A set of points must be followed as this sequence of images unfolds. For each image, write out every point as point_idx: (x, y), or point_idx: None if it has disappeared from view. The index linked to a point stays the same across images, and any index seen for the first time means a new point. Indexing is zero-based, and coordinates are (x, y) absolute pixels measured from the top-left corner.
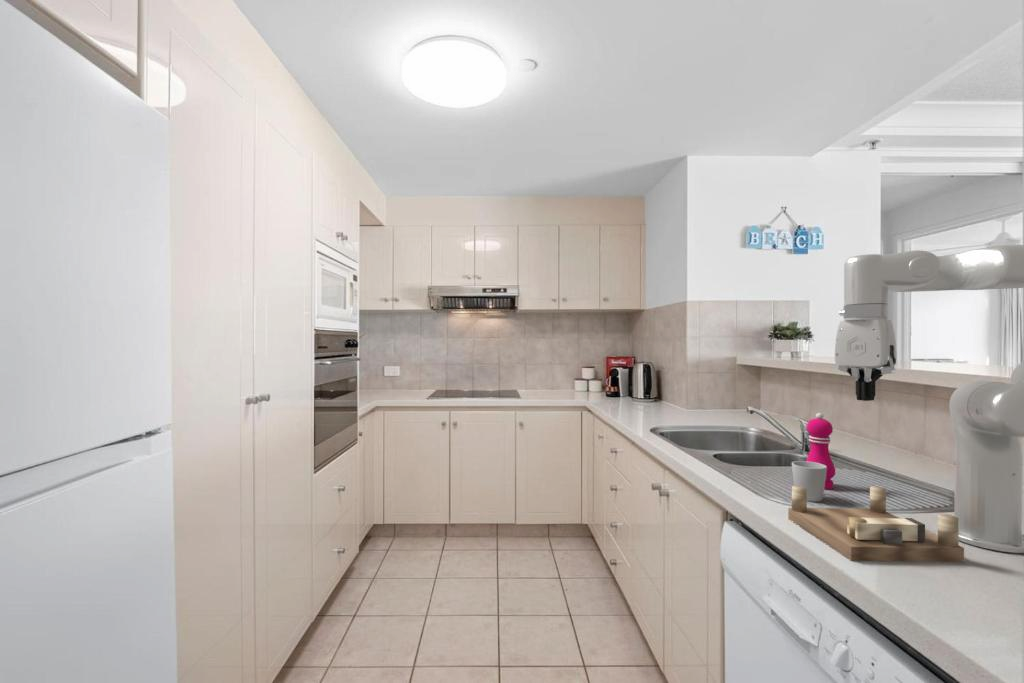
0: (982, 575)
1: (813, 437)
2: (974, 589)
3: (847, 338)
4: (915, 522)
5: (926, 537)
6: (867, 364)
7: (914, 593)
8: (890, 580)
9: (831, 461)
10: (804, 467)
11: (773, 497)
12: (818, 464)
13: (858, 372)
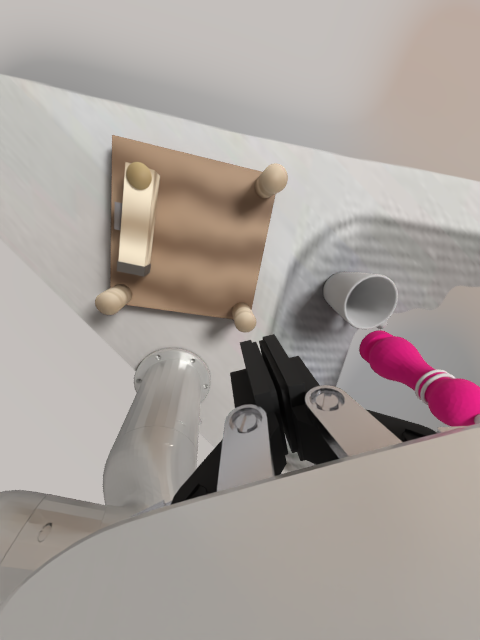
0: (81, 283)
1: (441, 375)
2: (42, 236)
3: None
4: (125, 265)
5: (144, 287)
6: (190, 524)
7: (21, 141)
8: (58, 143)
9: (388, 375)
10: (360, 280)
11: (359, 235)
12: (370, 326)
13: (334, 447)
